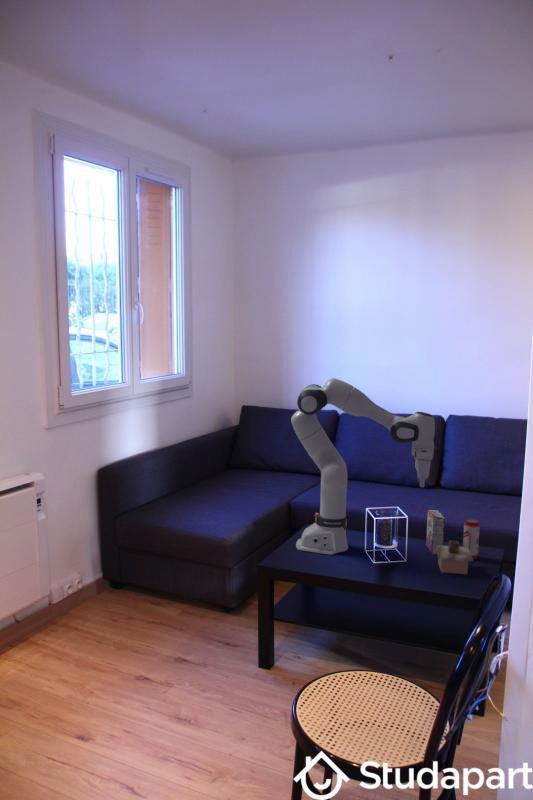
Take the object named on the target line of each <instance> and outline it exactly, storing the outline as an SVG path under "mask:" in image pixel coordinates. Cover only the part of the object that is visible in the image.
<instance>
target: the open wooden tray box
mask: <svg viewBox="0 0 533 800" xmlns="http://www.w3.org/2000/svg"><path fill="white" fill-rule="evenodd" d="M437 560H438V561H437V563H438V567H439V570H440V573H447V574H455V575H456V574H458V575H459V574H460V575H468V569H469V561H462V560H449V559H437Z"/></svg>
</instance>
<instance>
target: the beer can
mask: <svg viewBox="0 0 533 800" xmlns="http://www.w3.org/2000/svg"><path fill="white" fill-rule="evenodd" d="M480 526H481V525H480V522H479V520H477V519H475V518H474V519H473V518H467V519H465V521H464V523H463V538H462V547H468V549H469V551H470V553H471V555H472V558H473V561H475V560H476V559H478V557H479V541H480V529H481V528H480ZM474 559H475V560H474Z"/></svg>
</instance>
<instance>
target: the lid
mask: <svg viewBox="0 0 533 800" xmlns="http://www.w3.org/2000/svg"><path fill="white" fill-rule="evenodd" d="M435 549H436V552H437V558H438V559H449V560H462V561H468V562H473V561H474V560H473V558H472V555H471V553H470V551H469V549H468V547H463V546H460V543H459V541H458V540H454V539H453V540H450V539H449V540H448V545H444V544H443V545H435ZM438 559H437V560H438Z"/></svg>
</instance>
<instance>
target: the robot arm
mask: <svg viewBox="0 0 533 800" xmlns="http://www.w3.org/2000/svg"><path fill="white" fill-rule="evenodd" d="M296 402H297V403H296V404H297V407H298V408H297V409H298V410H297V411H295V412H294V413H293V415H291V417H290V418H291V419H290V422H291V425H292V428H293V430H294V433H295V434H296V436H297V438H298V440H299V442H300V443H301V445H302V446H303V448H304V449H305V451H306V452H307V454H308V457H310V459H311V460H313V463H314V464H315V465H316V466H317V467H318V469H319V470H320V497H319V499H320V505H319V512H315V514H314V523H312V524H310V525H309V526H307V527H306V528H305V529H304V530H303V532H302V534H301V538H298V539H297V541H296V542H295V548H296V549H297V550H298V551H304V552H310V553H318V554H324V555H331V556H333V555H335V554H338V553H342V552H343V553H344V552H346V551H347V550H349V546H348V541H347V535H346V534H347V533H346V532H347V531H346V529H347V525H348V524H347V522H348V519H347V514H346V511H347V494H348V492H347V491H348V467H347V462H345V460H344V458H343V457H342V456H341V454H340V452H339V450H337V448H336V446H334V444H333V443H332V441H331V440H330V438H329V436H328V435H327V433H326V431H325V430H324V428H323V426H322V425H321V423H320V421H319V420H318V417H317V414H318V413H319V412H321V411H322V410H323V409H324V408H325V407H327V405H330V406H331V405H332V406H334V407H336V408H337V409H339V410H341V411H342V412H344V413H346V414H348V415H350V416H353V417H366V418H369V419H371V420H373V421H374V422H377V423H378V424H380V425H382V426H383V427H384V428H385V427H386V429H387V430H388V431H389V433H390V437H391V439H392V440H393V441H395V442H396V443H399V444H404V443H405V444H406V443H411V456H413V457H414V458H413V459H414V460H415V463H414V467H415V470H416V473H417V482H418V483H419V487H420V488H425V484H426V483H425V482H426V480H427V479H429V476H430V470H431V463H432V461H433V458H434V452H435V451H434V450H435V443H434V438H435V430H436V426H435V424H436V423H435V418H434V417H433V415H432V414H431V413H427V412H423V411H415V412H414V413H413V414H411V415H410V416H405V415H400V414H399V415H398V414H395V413H392V412H390V411H388V410H387V409H384V408H383V407H381V406H380V405H378V404H376V403H375V402H374V401H372V399H371V398H369V396H367V395H366V394H365V393H364V392H362V391H361V390H360V389H358V388H357V387H355V386H353V385H352V384H350V383H348V382H345V381H344V380H341V379H338V378H335V377H334V378H330V379H329V380H327V381H326V382H325V383H324V385H323V386H320V384H313V383H312V384H309V385H307V386H305V387H304V388H303V389H302V390H301V391H300V393H299V395H298V396H297V401H296Z"/></svg>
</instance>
